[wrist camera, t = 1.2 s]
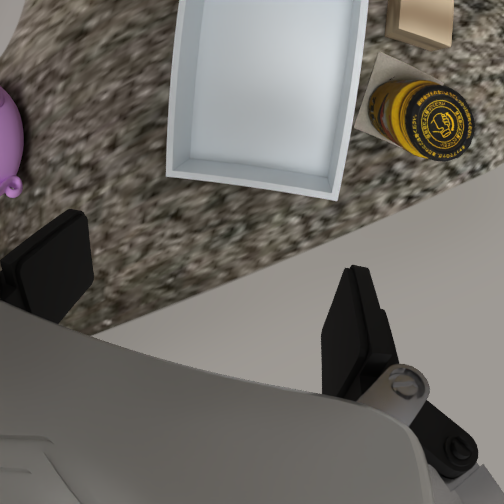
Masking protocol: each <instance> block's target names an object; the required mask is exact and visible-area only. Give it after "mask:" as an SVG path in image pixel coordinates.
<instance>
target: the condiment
mask: <svg viewBox="0 0 504 504" xmlns="http://www.w3.org/2000/svg"><path fill="white" fill-rule="evenodd" d="M392 77H395V78H394V79H392ZM389 79H391V81H389ZM443 83H444V82H442V81H440V80H438V79H436V78H434V77H432V76H430V75H428V74H426V73H424V72H422V71H420V70H418V69H416V68H414V67H412V66H410V65H408V64H406V63H404V62H402V61H400V60H398V59H395V58H393V57H391V56H389V55H386V54H384V53H382V52H379V53H378V56H377V59H376V62H375V65H374V69H373V72H372V75H371V78H370V81H369V84H368V87H367V89H366V92H365V95H364V98H363V101H362V104H361V107H360V110H359V113H358V116H357V119H356V122H355V125H354V128H355V129H358V130H360V131H363V132H365V133H368V134H370V135H373V136H375V137H377V138H380V139H382V140H385V141H387V142H389V143H392V144H394V145H396V146H398V147H401V148H403V149H405V150H407V151H408V152H410V153H412V154H414V155H415V156H418V157H422V158H426V159H427V158H428V159H432V160H434V161H449V160H452V159H455V158H458V157H460V156H461V155H462V154H463V153H464V152H465V151H466V150H467V149H468V147H469V146H470V144H471V142H472V138H473V135H474V127H475V124H474V118H473V115H472V113H471V110H470V108H469V105H468V104H467V103H466V101H465V99H464V98H463V97H462V96H461V95H460V94H459V93H458V92H456V91H455V90H453V89H451V88H449V87H447V86H443Z"/></svg>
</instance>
